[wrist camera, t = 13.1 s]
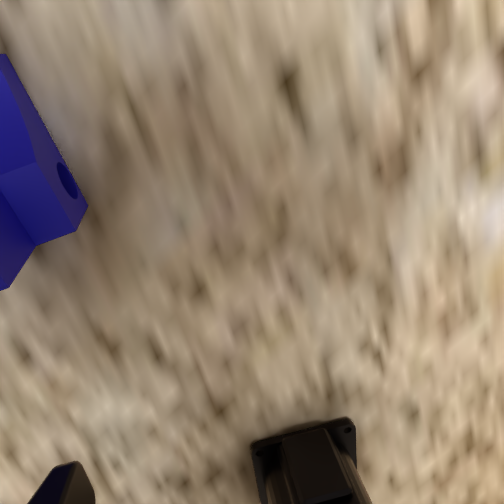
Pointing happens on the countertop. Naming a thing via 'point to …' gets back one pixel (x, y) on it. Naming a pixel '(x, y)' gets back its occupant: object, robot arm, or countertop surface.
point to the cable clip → (30, 180)
